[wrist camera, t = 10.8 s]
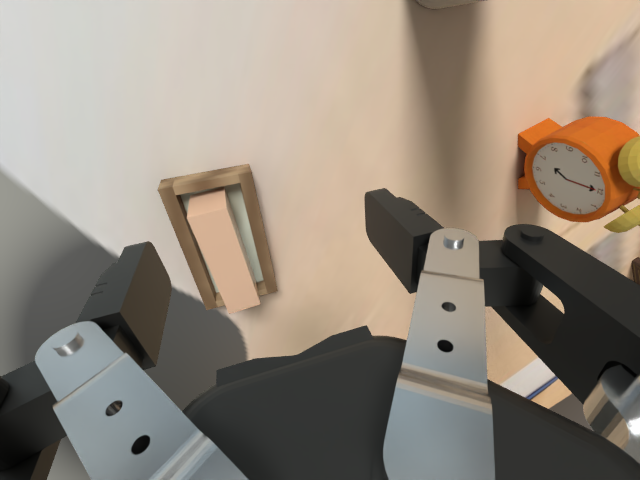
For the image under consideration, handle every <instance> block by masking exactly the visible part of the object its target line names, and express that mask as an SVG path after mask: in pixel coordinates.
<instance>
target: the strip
mask: <svg viewBox="0 0 640 480" xmlns="http://www.w3.org/2000/svg"><path fill="white" fill-rule="evenodd" d="M187 220H188V222H189V224H190V226H191V229H192V231H193V233H194V235H195V238H196V240H197V242H198V244H199V247H200V249H201V251H202V253H203V256H204V258H205V260H206V263H207V265H208V267H209V269H210V272H211V274H212V276H213V278H214V281H215V283H216V285H217V287H218V290H219V292H220V294H221V296H222V299H223V301H224V303H225V306H226V308H227V310H228V312H229V314H231V313H234V312H237V311H241V310H244V309H247V308H250V307H253V306H256V305H260V299H259V294H258V289H257V284H256V279H255V275H254V272H253V269H252V266H251V263H250V260H249V257H248V254H247V251H246V248H245V245H244V243H243V240H242V237H241V234H240V231H239V228H238V225H237V222H236V219H235V216H234V213H233V210H232V207H231V205H230V202H229V199H228V196H227V193H226V190H225V187H221V188H217V189H213V190H209V191H205V192H201V193H197V194H193V195H190V199H189V206H188V213H187Z"/></svg>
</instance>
